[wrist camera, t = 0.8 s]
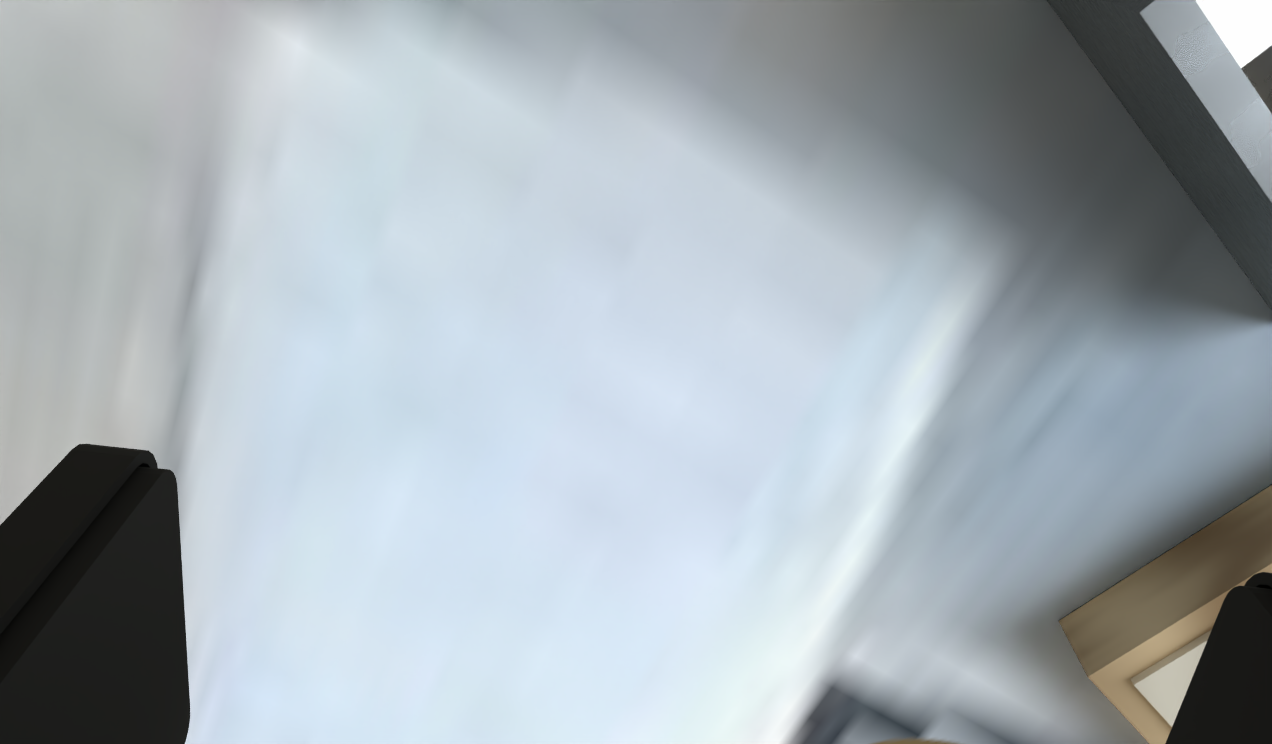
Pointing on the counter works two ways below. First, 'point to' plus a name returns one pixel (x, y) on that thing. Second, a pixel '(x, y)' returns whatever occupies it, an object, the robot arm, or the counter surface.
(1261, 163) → the housing
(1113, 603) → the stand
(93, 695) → the robot arm
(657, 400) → the counter surface
